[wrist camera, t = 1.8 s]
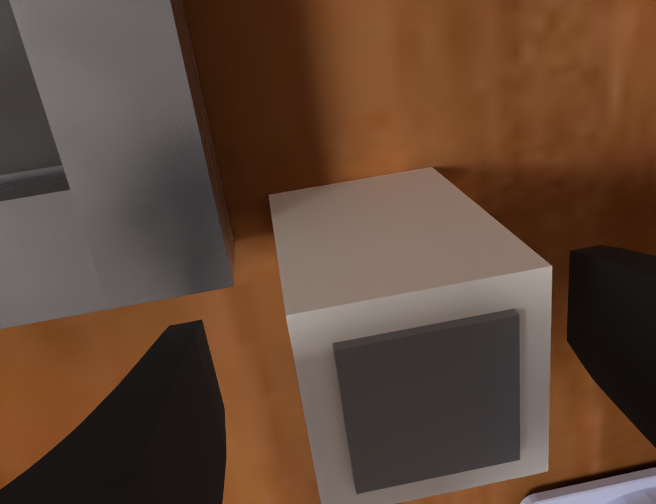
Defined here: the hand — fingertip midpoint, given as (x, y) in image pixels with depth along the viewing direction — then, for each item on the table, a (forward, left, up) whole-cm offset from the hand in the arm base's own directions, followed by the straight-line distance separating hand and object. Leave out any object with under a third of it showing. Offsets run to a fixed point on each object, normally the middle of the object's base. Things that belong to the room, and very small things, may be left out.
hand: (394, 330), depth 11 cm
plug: (0, 0, -4) cm, 4 cm away
